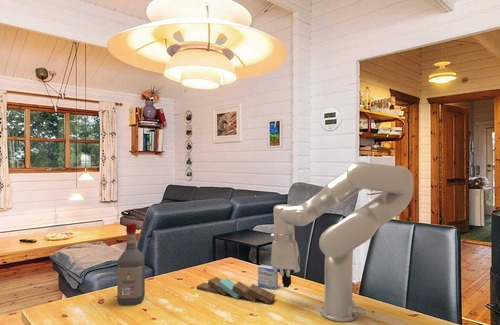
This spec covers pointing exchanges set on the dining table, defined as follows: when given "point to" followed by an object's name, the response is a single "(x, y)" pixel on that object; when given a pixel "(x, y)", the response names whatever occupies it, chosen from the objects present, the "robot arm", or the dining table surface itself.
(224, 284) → the domino
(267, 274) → the medicine box
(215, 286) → the domino
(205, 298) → the dining table surface
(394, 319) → the dining table surface
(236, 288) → the domino
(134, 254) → the liquor
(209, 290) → the domino
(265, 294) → the domino
